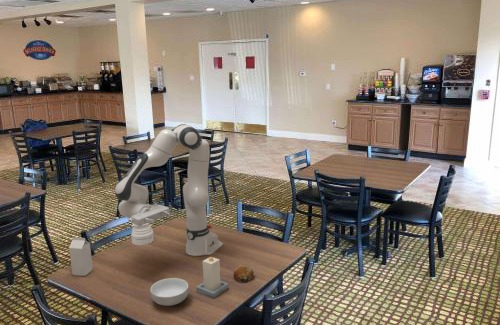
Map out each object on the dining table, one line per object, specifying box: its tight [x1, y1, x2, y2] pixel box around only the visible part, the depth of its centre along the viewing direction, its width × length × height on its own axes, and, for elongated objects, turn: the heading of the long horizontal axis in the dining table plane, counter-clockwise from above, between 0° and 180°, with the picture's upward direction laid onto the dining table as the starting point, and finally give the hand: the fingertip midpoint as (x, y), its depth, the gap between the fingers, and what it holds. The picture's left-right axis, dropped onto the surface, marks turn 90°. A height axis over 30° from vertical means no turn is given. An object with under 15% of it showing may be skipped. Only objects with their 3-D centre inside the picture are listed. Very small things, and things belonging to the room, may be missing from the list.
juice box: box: [202, 256, 221, 292], centre depth 196 cm, size 6×6×15 cm
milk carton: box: [68, 237, 94, 277], centre depth 216 cm, size 7×7×19 cm
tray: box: [195, 280, 229, 299], centre depth 197 cm, size 10×10×2 cm
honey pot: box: [130, 222, 155, 246], centre depth 254 cm, size 13×13×18 cm
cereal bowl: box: [149, 277, 189, 307], centre depth 189 cm, size 17×17×7 cm
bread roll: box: [233, 264, 254, 283], centre depth 208 cm, size 10×10×8 cm
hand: (161, 218), depth 206 cm, fingers open, 8 cm apart
